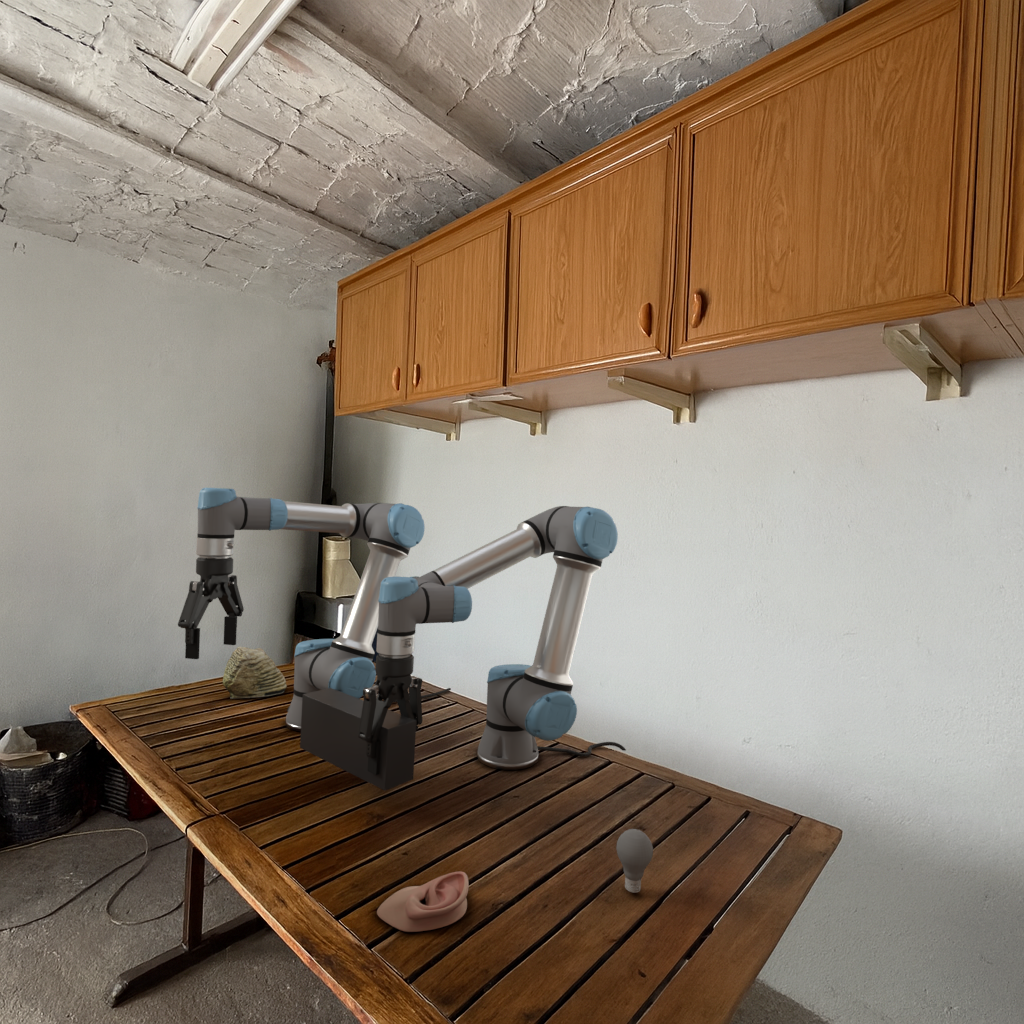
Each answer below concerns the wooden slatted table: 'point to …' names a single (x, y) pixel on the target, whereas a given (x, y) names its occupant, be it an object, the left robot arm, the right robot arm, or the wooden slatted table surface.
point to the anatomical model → (427, 904)
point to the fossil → (252, 674)
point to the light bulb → (634, 857)
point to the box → (356, 738)
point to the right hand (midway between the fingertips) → (389, 766)
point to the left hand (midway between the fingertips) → (211, 651)
